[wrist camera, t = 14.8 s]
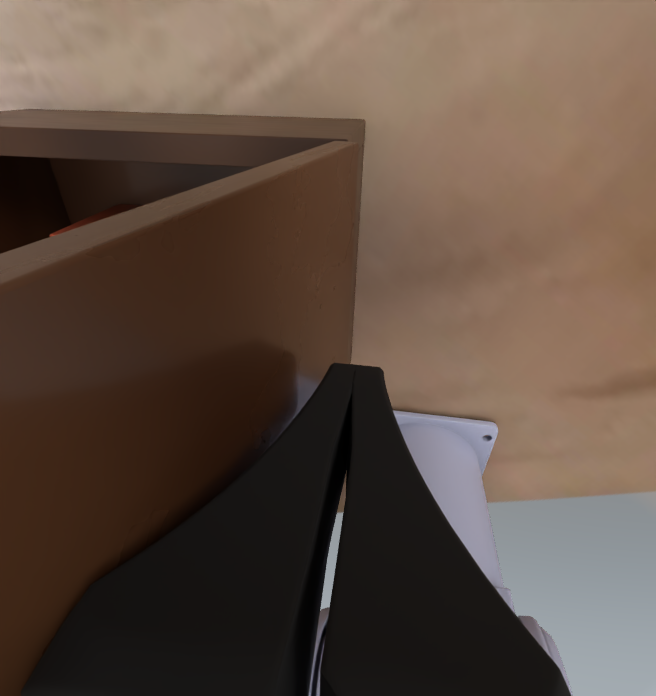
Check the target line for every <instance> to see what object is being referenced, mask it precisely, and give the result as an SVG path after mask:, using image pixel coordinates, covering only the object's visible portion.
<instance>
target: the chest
mask: <svg viewBox="0 0 656 696" xmlns="http://www.w3.org/2000/svg"><path fill="white" fill-rule="evenodd" d="M364 138H365V120H364V119H333V118H300V117H268V116H236V115H204V114H171V113H139V112H107V111H74V110H42V109H25V110H11V111H0V254H1V253H4V252H7V251H10V250H13V249H16V248H19V247H22V246H25V245H28V244H31V243H34V242H37V241H40V240H43V239H46V238H49V237H50V234H52V233H54V232H56V231H58V230H61V229H63V228H65V227H68V226H70V225H72V224H74V223H77V222H79V221H81V220H83V219H86V218H88V217H90V216H93V215H95V214H97V213H99V212H102V211H104V210H106V209H109V208H111V207H113V206H115V205H118V204H126V205H146V204H149V203H152V202H155V201H158V200H161V199H164V198H167V197H170V196H173V195H176V194H179V193H182V192H185V191H188V190H191V189H194V188H197V187H200V186H202V185H205V184H208V183H211V182H214V181H217V180H220V179H223V178H226V177H229V176H232V175H235V174H238V173H241V172H244V171H247V170H250V169H253V168H256V167H259V166H262V165H265V164H268V163H270V162H273V161H276V160H279V159H282V158H285V157H288V156H291V155H294V154H297V153H300V152H303V151H306V150H309V149H312V148H315V147H318V146H321V145H324V144H327V143H330V142H333V141H347V142H357V143H358V144H359V150H358V168H357V187H356V206H355V224H354V243H353V262H352V280H351V299H350V318H349V336H348V355H347V364H350V363H351V353H352V336H353V320H354V303H355V287H356V270H357V254H358V237H359V221H360V204H361V188H362V171H363V155H364Z"/></svg>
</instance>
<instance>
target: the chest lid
mask: <svg viewBox="0 0 656 696" xmlns="http://www.w3.org/2000/svg"><path fill="white" fill-rule="evenodd" d="M358 150H359V144H358V143H357V142H347V141H333V142H330V143H327V144H324V145H321V146H318V147H315V148H312V149H309V150H306V151H303V152H300V153H297V154H294V155H291V156H288V157H285V158H282V159H279V160H276V161H273V162H270V163H268V164H265V165H262V166H259V167H256V168H253V169H250V170H247V171H244V172H241V173H238V174H235V175H232V176H229V177H226V178H223V179H220V180H217V181H214V182H211V183H208V184H205V185H202V186H200V187H197V188H194V189H191V190H188V191H185V192H182V193H179V194H176V195H173V196H170V197H167V198H164V199H161V200H158V201H155V202H152V203H149V204H146V205H143V206H140V207H137V208H134V209H132V210H129V211H126V212H123V213H120V214H117V215H114V216H111V217H108V218H105V219H102V220H99V221H96V222H93V223H90V224H87V225H84V226H81V227H78V228H75V229H72V230H69V231H66V232H64V233H61V234H58V235H55V236H52V237H49V238H46V239H43V240H40V241H37V242H34V243H31V244H28V245H25V246H22V247H19V248H16V249H13V250H10V251H7V252H4V253H1V254H0V696H21V690H22V689H23V687H24V686H25V684H26V682H27V681H28V679H29V677H30V676H31V674H32V672H33V671H34V669H35V668H36V666H37V664H38V663H39V661H40V659H41V658H42V656H43V654H44V653H45V651H46V650H47V648H48V646H49V645H50V643H51V641H52V640H53V638H54V637H55V635H56V633H57V632H58V630H59V628H60V627H61V625H62V624H63V622H64V621H65V619H66V618H67V617H68V615H69V614H70V612H71V611H72V610H73V608H74V607H75V606H76V604H77V603H78V602H79V601H80V599H81V598H82V596H83V595H84V594H85V592H86V591H87V589H88V588H89V586H90V585H91V584H93V583H94V582H96V581H97V580H99V579H100V578H102V577H104V576H105V575H107V574H108V573H110V572H111V571H113V570H114V569H116V568H117V567H119V566H120V565H122V564H123V563H125V562H126V561H128V560H129V559H131V558H132V557H134V556H136V555H137V554H139V553H140V552H142V551H143V550H145V549H146V548H148V547H149V546H151V545H152V544H154V543H155V542H157V541H158V540H159V539H161V538H162V537H164V536H165V535H166V534H168V533H169V532H170V531H172V530H173V529H174V528H176V527H177V526H178V525H180V524H181V523H182V522H184V521H185V520H186V519H188V518H189V517H190V516H192V515H193V514H194V513H196V512H197V511H198V510H200V509H201V508H202V507H204V506H205V505H206V504H207V503H209V502H210V501H211V500H212V499H213V498H215V497H216V496H217V495H218V494H219V493H221V492H222V491H223V490H224V489H225V488H226V487H227V486H229V485H230V484H231V483H232V482H233V481H234V480H235V479H236V478H238V477H239V476H240V475H241V474H242V473H243V472H244V471H245V470H246V469H247V468H249V467H250V466H251V465H252V464H253V463H254V462H255V461H256V460H257V459H258V458H259V457H260V456H261V455H262V454H263V453H264V452H265V451H266V450H267V449H268V448H269V446H270V445H271V444H272V443H273V442H274V441H275V440H276V439H277V438H278V437H279V435H280V434H281V433H282V432H283V431H284V430H285V428H286V427H287V426H288V425H289V424H290V423H291V422H292V420H293V419H294V418H295V417H296V415H297V414H298V413H299V412H300V410H301V409H302V408H303V406H304V405H305V404H306V402H307V401H308V400H309V398H310V397H311V396H312V394H313V393H314V391H315V390H316V388H317V387H318V385H319V384H320V382H321V381H322V379H323V377H324V376H325V374H326V372H327V370H328V368H329V366H330V365H332V364H333V363H343V364H347V355H348V336H349V318H350V299H351V280H352V262H353V243H354V224H355V206H356V187H357V168H358Z"/></svg>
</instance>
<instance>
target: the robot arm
mask: <svg viewBox="0 0 656 696" xmlns="http://www.w3.org/2000/svg"><path fill="white" fill-rule="evenodd" d="M497 434H498V427H497V425H496V424H495V423H494V422H490V421H481V420H472V419H464V418H455V417H447V416H438V415H429V414H421V413H412V412H403V411H395V410H393V409H392V406H391V403H390V400H389V397H388V393H387V389H386V385H385V380H384V372H383V370H382V369H381V368H380V367H372V366H362V365H352V364H343V363H333V364H332V365H330V366H329V368H328V370H327V372H326V374H325V376H324V377H323V379H322V381H321V382H320V384H319V385H318V387H317V388H316V390H315V391H314V393H313V394H312V396H311V397H310V398H309V400H308V401H307V402H306V404H305V405H304V406H303V408H302V409H301V410H300V412H299V413H298V414H297V415H296V417H295V418H294V419H293V420H292V422H291V423H290V424H289V425H288V426H287V427H286V428H285V430H284V431H283V432H282V433H281V434H280V435H279V437H278V438H277V439H276V440H275V441H274V442H273V443H272V444H271V445H270V446H269V448H268V449H267V450H266V451H265V452H264V453H263V454H262V455H261V456H260V457H259V458H258V459H257V460H256V461H255V462H254V463H253V464H252V465H251V466H250V467H249V468H247V469H246V470H245V471H244V472H243V473H242V474H241V475H240V476H239V477H238V478H236V479H235V480H234V481H233V482H232V483H231V484H230V485H229V486H227V487H226V488H225V489H224V490H223V491H222V492H221V493H219V494H218V495H217V496H216V497H215V498H213V499H212V500H211V501H210V502H209V503H207V504H206V505H205V506H204V507H202V508H201V509H200V510H198V511H197V512H196V513H194V514H193V515H192V516H190V517H189V518H188V519H186V520H185V521H184V522H182V523H181V524H180V525H178V526H177V527H176V528H174V529H173V530H172V531H170V532H169V533H168V534H166V535H165V536H164V537H162V538H161V539H159V540H158V541H157V542H155V543H154V544H152V545H151V546H149V547H148V548H146V549H145V550H143V551H142V552H140V553H139V554H137V555H136V556H134V557H132V558H131V559H129V560H128V561H126V562H125V563H123V564H122V565H120V566H119V567H117V568H116V569H114V570H113V571H111V572H110V573H108V574H107V575H105V576H104V577H102V578H100V579H99V580H97V581H96V582H94V583H93V584H91V585H90V586H89V588H88V589H87V591H86V592H85V594H84V595H83V596H82V598H81V599H80V601H79V602H78V603H77V604H76V606H75V607H74V608H73V610H72V611H71V612H70V614H69V615H68V617H67V618H66V619H65V621H64V622H63V624H62V625H61V627H60V628H59V630H58V632H57V633H56V635H55V637H54V638H53V640H52V641H51V643H50V645H49V646H48V648H47V650H46V651H45V653H44V654H43V656H42V658H41V659H40V661H39V663H38V664H37V666H36V668H35V669H34V671H33V672H32V674H31V676H30V677H29V679H28V681H27V682H26V684H25V686H24V687H23V689H22V690H21V696H573V695H572V691H571V688H570V684H569V681H568V678H567V675H566V671H565V668H564V665H563V662H562V660H561V657H560V654H559V651H558V649H557V647H556V644H555V642H554V640H553V639H552V637H551V636H550V635H549V634H548V633H547V632H546V631H545V630H544V629H543V628H542V627H540V626H539V624H538V623H537V621H536V620H535V619H534V618H533V617H530V616H518V617H517V616H516V615H515V611H514V606H513V601H512V597H511V592H510V590H509V589H508V588H504V585H503V580H502V575H501V570H500V565H499V560H498V555H497V550H496V545H495V540H494V535H493V530H492V526H491V520H490V516H489V511H488V506H487V501H486V496H485V491H484V486H483V481H482V475H483V472H484V469H485V467H486V464H487V461H488V459H489V456H490V453H491V450H492V448H493V445H494V442H495V440H496V437H497ZM485 435H489V436H485ZM346 470H347V473H346ZM345 474H346V499H345V506H344V513H343V521H342V527H341V535H340V542H339V548H338V555H337V562H336V569H335V576H334V582H333V589H332V596H331V602H330V608H325V609H322V610H321V611H320V607H321V600H322V592H323V585H324V578H325V570H326V563H327V557H328V551H329V546H330V541H331V536H332V531H333V527H334V523H335V518H336V514H337V509H338V505H339V501H340V496H341V492H342V488H343V483H344V479H345Z"/></svg>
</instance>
